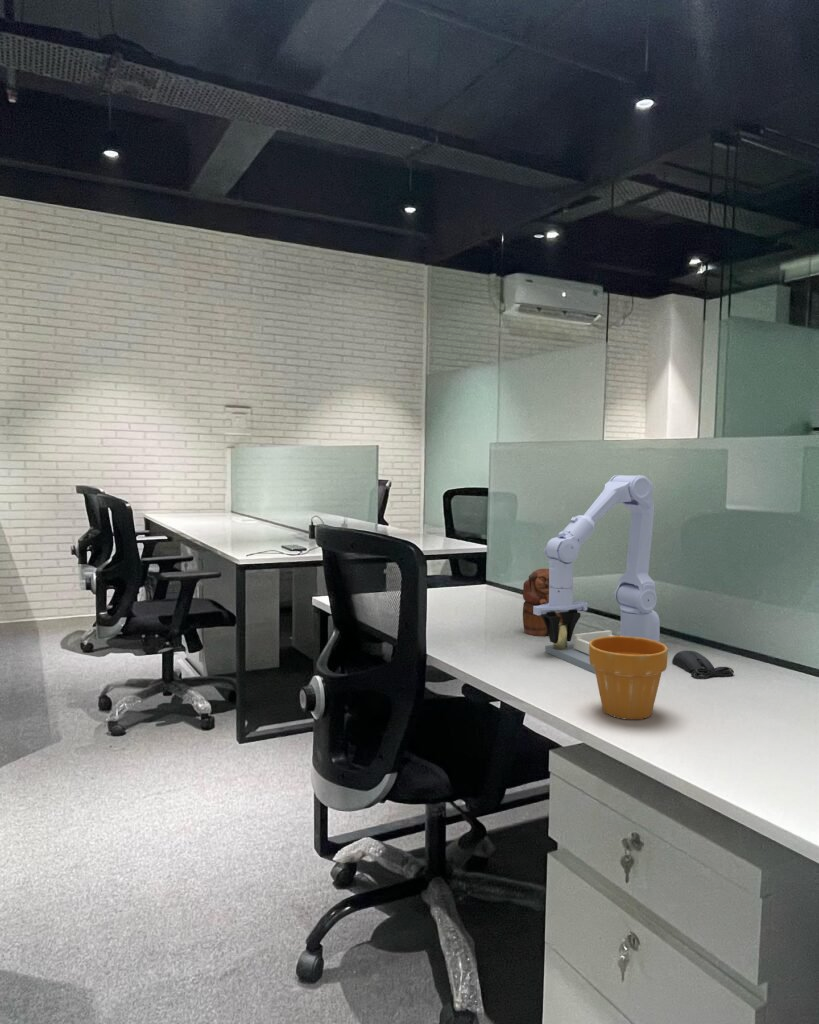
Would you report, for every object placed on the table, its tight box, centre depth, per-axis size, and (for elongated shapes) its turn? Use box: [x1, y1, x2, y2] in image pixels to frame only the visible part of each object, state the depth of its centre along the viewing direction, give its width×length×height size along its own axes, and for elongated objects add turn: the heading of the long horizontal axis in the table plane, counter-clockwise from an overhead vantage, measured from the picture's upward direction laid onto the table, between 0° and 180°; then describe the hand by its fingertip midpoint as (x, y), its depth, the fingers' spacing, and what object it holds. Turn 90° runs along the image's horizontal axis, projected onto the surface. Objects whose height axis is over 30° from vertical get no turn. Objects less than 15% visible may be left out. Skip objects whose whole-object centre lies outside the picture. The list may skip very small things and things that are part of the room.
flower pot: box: [589, 635, 669, 720], centre depth 135 cm, size 14×14×13 cm
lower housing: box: [573, 629, 614, 654], centre depth 172 cm, size 11×10×4 cm
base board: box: [544, 641, 596, 675], centre depth 171 cm, size 16×24×4 cm, turn 23°
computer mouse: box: [671, 649, 735, 680], centre depth 164 cm, size 10×15×4 cm
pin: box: [552, 623, 568, 650], centre depth 176 cm, size 3×3×6 cm
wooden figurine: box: [522, 568, 563, 637], centre depth 197 cm, size 12×6×18 cm, turn 100°
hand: (560, 641), depth 176 cm, fingers closed on pin, 3 cm apart
